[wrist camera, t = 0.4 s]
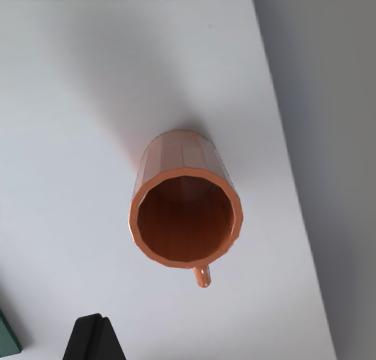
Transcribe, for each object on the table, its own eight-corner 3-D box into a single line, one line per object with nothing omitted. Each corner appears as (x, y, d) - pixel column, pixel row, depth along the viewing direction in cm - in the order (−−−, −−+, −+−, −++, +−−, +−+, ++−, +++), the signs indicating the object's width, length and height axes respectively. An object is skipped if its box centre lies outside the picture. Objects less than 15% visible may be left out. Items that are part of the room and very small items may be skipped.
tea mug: (130, 140, 27) (114, 183, 19) (211, 120, 27) (231, 155, 18) (161, 240, 30) (158, 315, 22) (233, 224, 30) (257, 293, 22)
